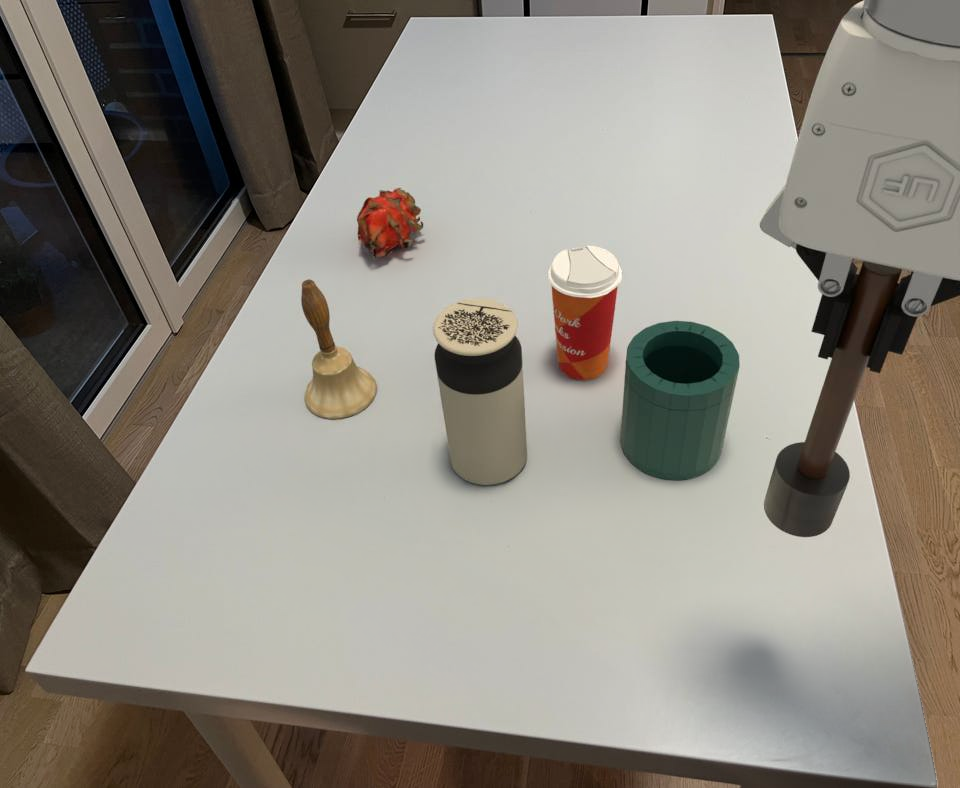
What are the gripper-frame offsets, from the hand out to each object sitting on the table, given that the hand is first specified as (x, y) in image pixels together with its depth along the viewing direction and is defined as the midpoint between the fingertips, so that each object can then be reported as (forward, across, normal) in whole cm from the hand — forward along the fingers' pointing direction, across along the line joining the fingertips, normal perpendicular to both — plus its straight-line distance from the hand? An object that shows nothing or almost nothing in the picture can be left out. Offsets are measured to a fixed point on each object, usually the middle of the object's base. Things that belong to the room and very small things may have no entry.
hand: (854, 347), depth 43 cm
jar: (+33, -13, +18) cm, 40 cm away
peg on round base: (+15, 0, 0) cm, 15 cm away
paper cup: (+33, -26, +26) cm, 50 cm away
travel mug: (+33, -30, +9) cm, 45 cm away
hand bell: (+33, -50, +10) cm, 60 cm away
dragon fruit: (+33, -60, +37) cm, 78 cm away
